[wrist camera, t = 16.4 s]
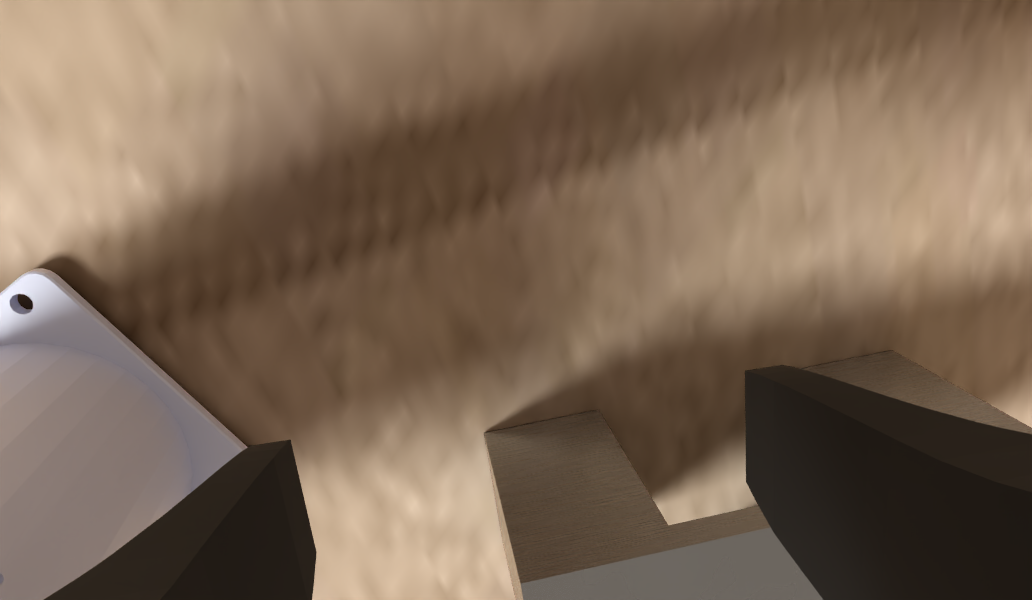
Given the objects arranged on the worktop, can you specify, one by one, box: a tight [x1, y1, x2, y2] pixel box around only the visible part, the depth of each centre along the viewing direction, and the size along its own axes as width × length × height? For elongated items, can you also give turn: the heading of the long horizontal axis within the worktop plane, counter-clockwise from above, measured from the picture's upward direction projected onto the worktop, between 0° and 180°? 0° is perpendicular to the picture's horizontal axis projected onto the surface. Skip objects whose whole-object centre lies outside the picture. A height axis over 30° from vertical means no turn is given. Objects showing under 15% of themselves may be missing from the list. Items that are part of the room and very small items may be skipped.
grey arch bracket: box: [484, 350, 1032, 600], centre depth 20 cm, size 4×13×7 cm, turn 98°
